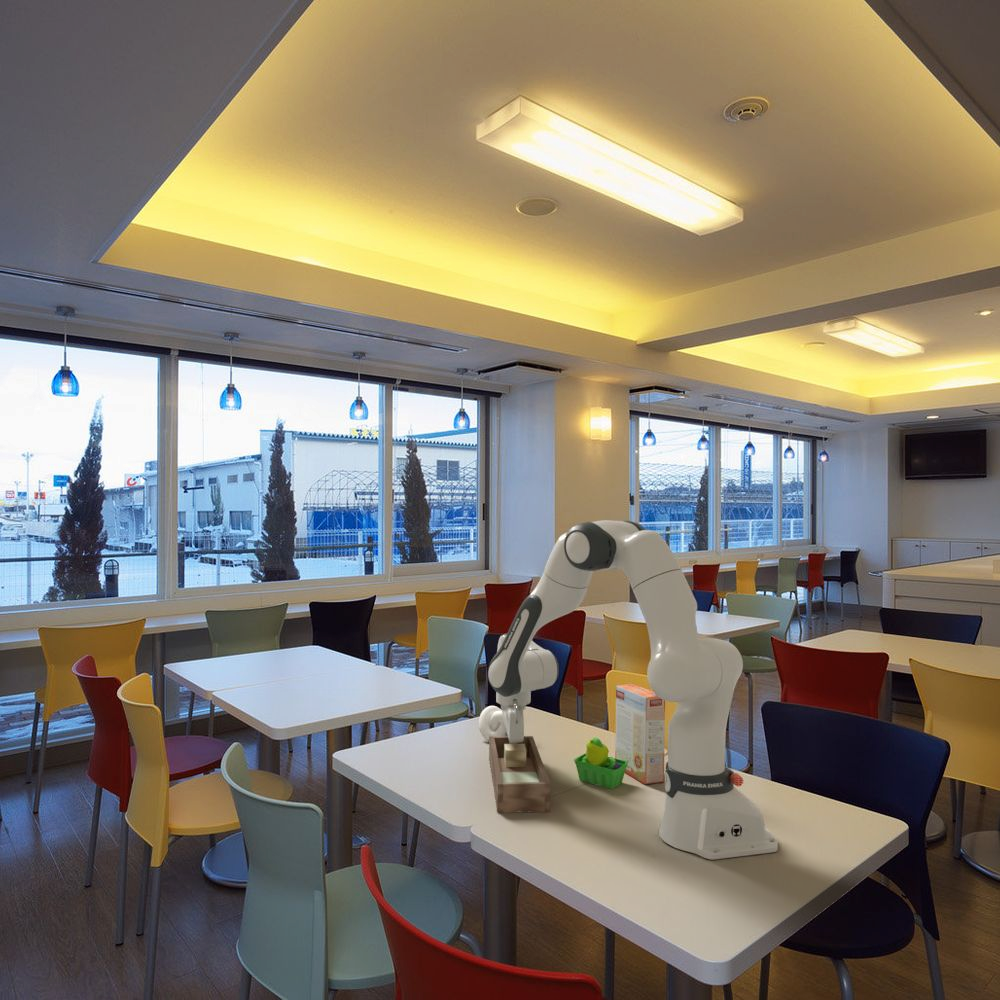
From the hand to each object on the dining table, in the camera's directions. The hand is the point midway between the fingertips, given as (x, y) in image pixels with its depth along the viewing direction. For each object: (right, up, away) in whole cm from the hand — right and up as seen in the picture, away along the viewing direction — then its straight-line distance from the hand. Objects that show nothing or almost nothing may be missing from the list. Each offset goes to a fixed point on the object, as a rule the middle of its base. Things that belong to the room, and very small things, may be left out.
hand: (512, 749), depth 187 cm
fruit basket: (+21, -4, -11) cm, 24 cm away
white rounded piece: (-3, -5, +22) cm, 23 cm away
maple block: (0, -1, -7) cm, 7 cm away
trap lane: (+1, -4, -12) cm, 13 cm away
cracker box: (+31, -5, -5) cm, 32 cm away
